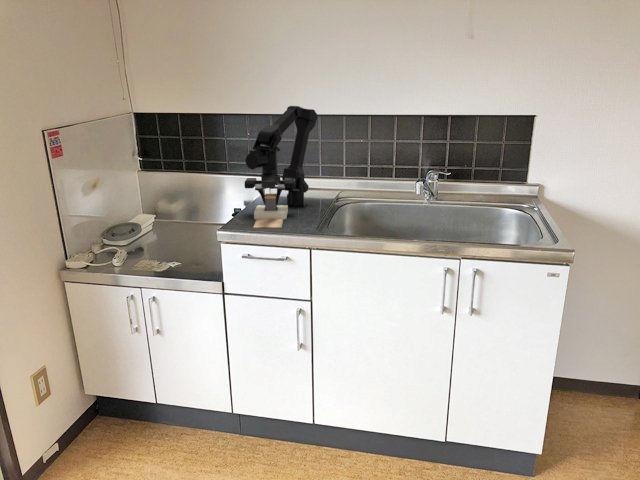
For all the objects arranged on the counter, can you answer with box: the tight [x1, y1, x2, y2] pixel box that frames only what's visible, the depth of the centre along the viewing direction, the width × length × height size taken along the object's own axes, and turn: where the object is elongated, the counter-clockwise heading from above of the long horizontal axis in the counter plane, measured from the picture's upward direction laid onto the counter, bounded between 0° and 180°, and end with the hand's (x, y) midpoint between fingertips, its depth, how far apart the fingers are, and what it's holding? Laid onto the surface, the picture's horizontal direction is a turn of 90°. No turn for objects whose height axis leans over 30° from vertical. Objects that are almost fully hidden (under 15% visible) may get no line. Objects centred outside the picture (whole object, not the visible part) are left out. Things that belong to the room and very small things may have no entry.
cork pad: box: [252, 219, 284, 229], centre depth 196 cm, size 10×10×1 cm
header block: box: [253, 204, 289, 220], centre depth 206 cm, size 12×10×3 cm
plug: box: [265, 193, 278, 211], centre depth 205 cm, size 4×4×8 cm
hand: (271, 205), depth 205 cm, fingers closed on plug, 4 cm apart
